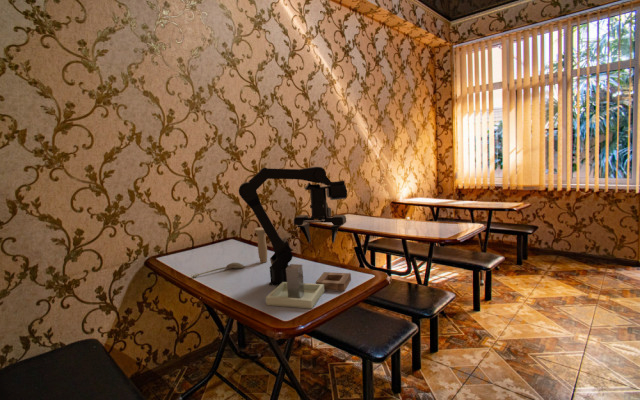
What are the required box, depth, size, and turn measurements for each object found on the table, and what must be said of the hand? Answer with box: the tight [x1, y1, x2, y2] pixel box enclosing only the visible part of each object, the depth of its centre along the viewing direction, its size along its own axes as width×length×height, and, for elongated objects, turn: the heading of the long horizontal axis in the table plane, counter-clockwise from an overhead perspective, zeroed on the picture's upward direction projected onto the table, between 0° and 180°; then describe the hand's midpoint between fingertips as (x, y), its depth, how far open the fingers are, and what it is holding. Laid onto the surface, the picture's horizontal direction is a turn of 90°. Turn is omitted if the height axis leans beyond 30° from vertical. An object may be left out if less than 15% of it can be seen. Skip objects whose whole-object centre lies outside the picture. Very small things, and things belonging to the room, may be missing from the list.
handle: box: [254, 226, 268, 264], centre depth 149 cm, size 5×6×15 cm
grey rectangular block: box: [286, 263, 304, 299], centre depth 109 cm, size 4×4×10 cm
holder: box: [315, 271, 352, 292], centre depth 119 cm, size 10×10×2 cm
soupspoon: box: [190, 262, 245, 280], centre depth 141 cm, size 22×3×7 cm
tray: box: [265, 282, 326, 310], centre depth 109 cm, size 15×13×2 cm
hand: (321, 242), depth 126 cm, fingers open, 9 cm apart
